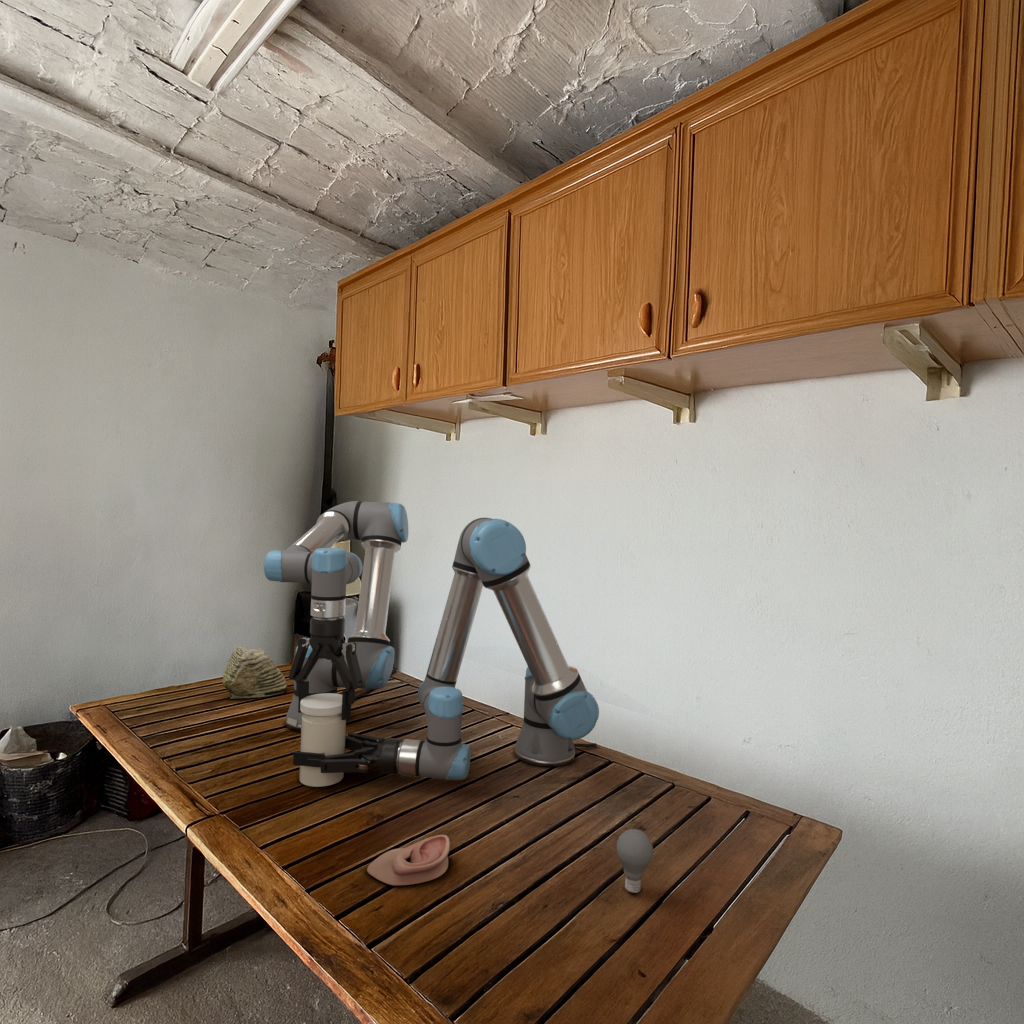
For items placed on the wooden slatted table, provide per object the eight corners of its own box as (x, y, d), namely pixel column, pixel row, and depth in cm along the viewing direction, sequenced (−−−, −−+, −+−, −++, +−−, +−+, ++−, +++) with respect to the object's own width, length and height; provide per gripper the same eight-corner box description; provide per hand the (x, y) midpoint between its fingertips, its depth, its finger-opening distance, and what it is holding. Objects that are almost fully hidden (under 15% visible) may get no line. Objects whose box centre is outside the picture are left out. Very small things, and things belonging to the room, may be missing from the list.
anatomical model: (359, 856, 105) (387, 822, 116) (358, 879, 105) (386, 843, 116) (435, 869, 102) (456, 833, 114) (434, 893, 103) (455, 855, 114)
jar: (308, 766, 148) (310, 701, 148) (349, 769, 148) (351, 703, 147) (292, 785, 138) (295, 715, 138) (336, 788, 138) (339, 717, 138)
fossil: (218, 695, 195) (220, 647, 195) (278, 685, 208) (279, 640, 207) (228, 703, 189) (230, 653, 188) (289, 692, 201) (290, 645, 201)
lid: (315, 719, 135) (316, 711, 135) (291, 706, 143) (291, 699, 143) (357, 708, 143) (358, 701, 143) (332, 697, 150) (333, 690, 150)
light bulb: (610, 879, 108) (613, 822, 108) (644, 879, 109) (647, 822, 109) (619, 902, 102) (622, 840, 102) (655, 901, 103) (658, 840, 103)
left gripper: (273, 615, 142) (270, 712, 143) (364, 625, 135) (360, 727, 136) (294, 609, 149) (291, 702, 150) (381, 619, 143) (378, 716, 143)
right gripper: (384, 796, 130) (280, 787, 132) (412, 753, 152) (323, 746, 155) (386, 760, 130) (282, 751, 132) (413, 722, 152) (324, 715, 154)
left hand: (324, 714), depth 143 cm, fingers closed on lid, 10 cm apart
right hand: (304, 748), depth 143 cm, fingers closed on jar, 10 cm apart
